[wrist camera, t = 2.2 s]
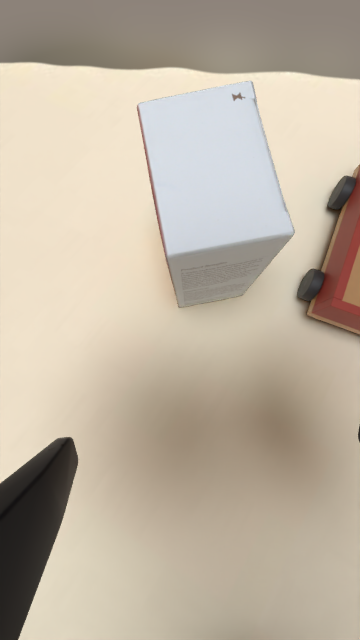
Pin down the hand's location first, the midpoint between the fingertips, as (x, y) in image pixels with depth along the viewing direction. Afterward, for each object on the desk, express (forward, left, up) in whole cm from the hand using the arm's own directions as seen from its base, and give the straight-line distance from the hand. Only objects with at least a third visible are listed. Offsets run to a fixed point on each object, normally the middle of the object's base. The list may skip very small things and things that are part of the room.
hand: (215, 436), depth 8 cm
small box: (+8, -7, -12) cm, 16 cm away
